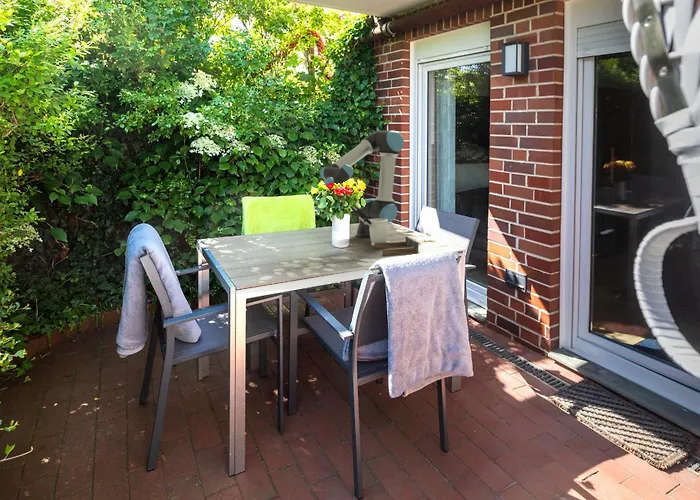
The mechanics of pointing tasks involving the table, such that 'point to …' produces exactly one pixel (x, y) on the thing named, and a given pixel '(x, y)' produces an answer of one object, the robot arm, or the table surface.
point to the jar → (379, 230)
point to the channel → (408, 243)
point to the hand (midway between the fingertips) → (370, 225)
